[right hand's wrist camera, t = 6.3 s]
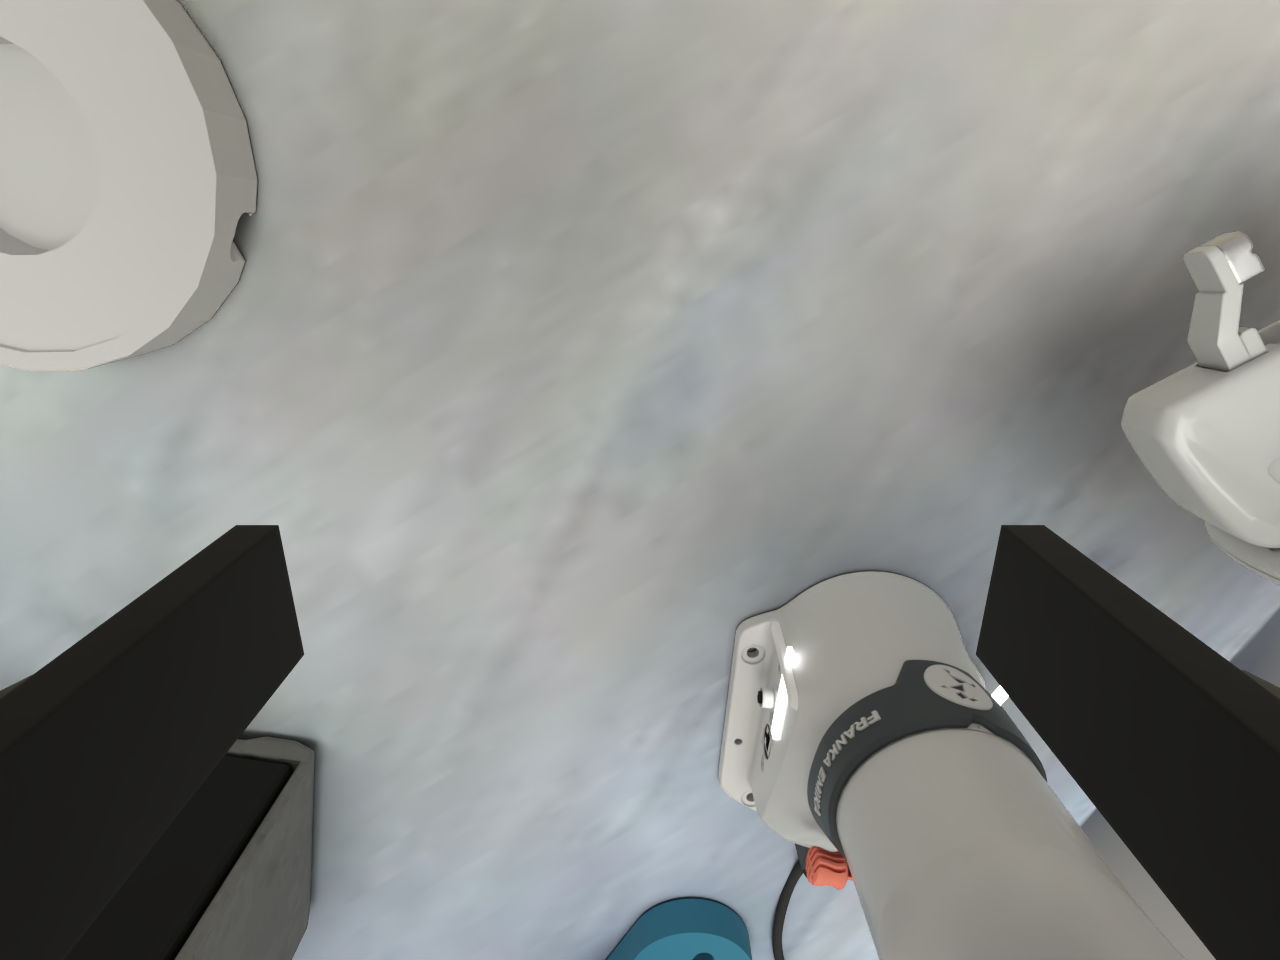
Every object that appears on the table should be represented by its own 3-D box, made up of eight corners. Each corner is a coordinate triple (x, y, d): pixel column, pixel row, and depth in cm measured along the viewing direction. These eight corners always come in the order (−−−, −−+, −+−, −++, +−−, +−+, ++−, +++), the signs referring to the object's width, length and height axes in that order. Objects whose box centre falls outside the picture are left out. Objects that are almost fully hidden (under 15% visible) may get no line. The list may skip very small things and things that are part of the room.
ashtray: (24, 416, 44) (-33, 434, 40) (-272, 28, 36) (-377, 5, 33) (335, 266, 41) (304, 270, 37) (78, -192, 33) (7, -245, 30)
